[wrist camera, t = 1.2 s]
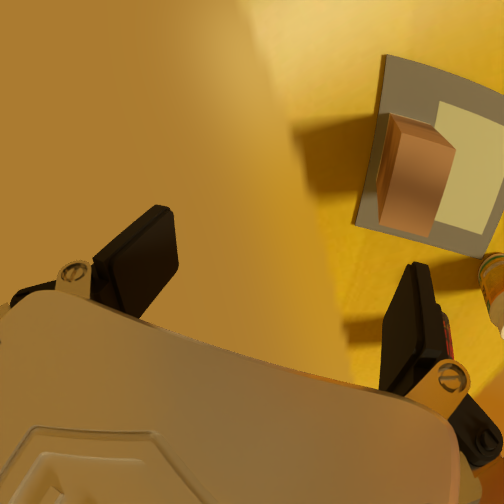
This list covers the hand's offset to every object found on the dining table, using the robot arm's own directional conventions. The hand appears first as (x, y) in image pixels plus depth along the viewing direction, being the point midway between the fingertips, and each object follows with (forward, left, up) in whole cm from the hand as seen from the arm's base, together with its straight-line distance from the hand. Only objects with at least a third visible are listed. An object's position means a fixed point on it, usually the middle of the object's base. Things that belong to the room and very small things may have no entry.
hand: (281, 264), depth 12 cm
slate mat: (0, +12, -21) cm, 24 cm away
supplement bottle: (+10, +23, -21) cm, 33 cm away
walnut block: (0, +7, -20) cm, 21 cm away
